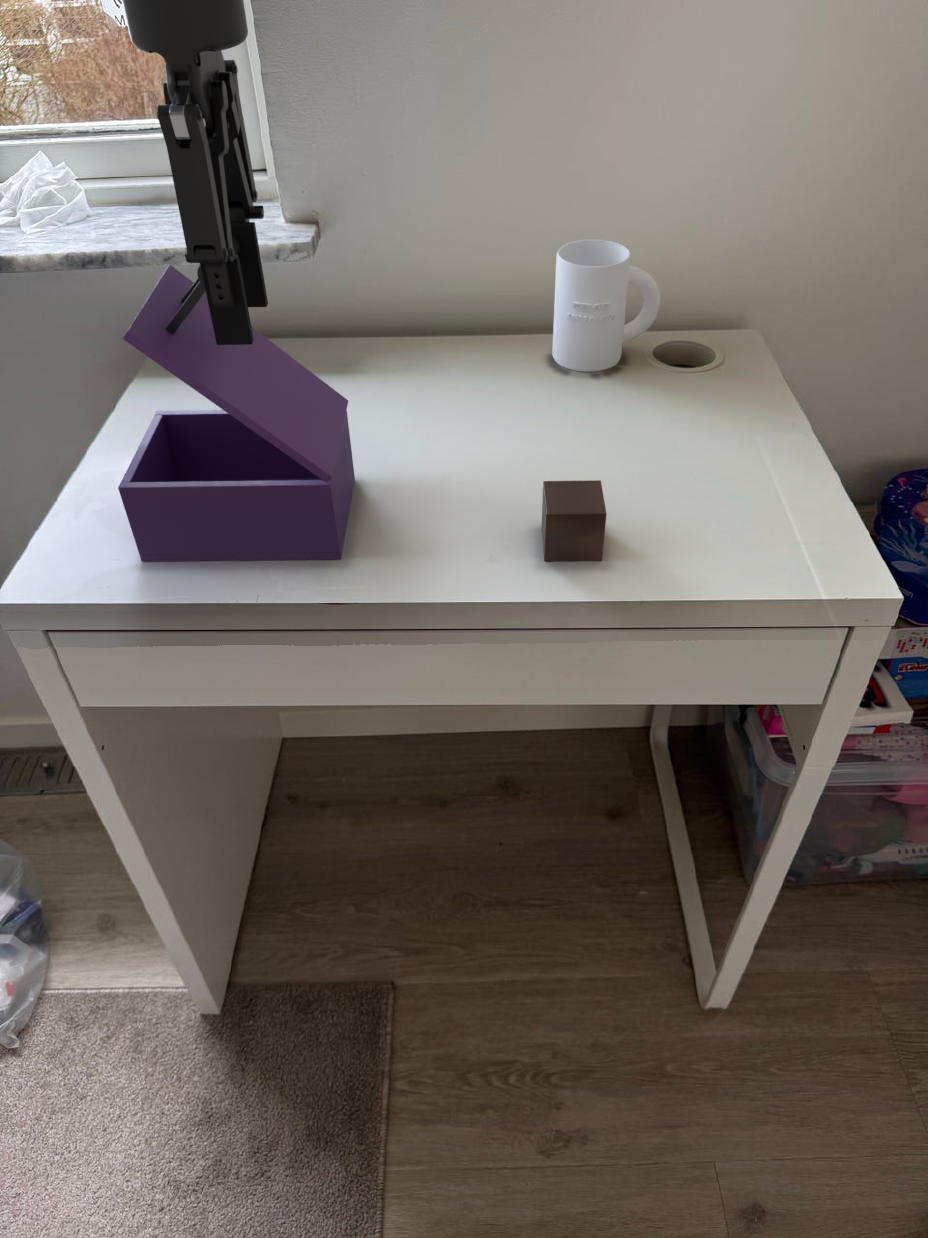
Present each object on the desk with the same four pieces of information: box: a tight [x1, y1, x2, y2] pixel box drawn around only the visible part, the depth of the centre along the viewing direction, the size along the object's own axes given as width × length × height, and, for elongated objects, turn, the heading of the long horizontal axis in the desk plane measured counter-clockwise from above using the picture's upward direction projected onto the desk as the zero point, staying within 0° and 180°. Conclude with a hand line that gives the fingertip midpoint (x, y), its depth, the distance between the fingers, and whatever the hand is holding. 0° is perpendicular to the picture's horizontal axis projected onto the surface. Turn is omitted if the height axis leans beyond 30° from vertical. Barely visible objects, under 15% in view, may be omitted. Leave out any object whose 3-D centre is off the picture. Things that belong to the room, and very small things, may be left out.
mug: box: [551, 239, 661, 373], centre depth 106 cm, size 8×12×12 cm
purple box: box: [117, 409, 356, 562], centre depth 85 cm, size 18×13×8 cm
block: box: [541, 479, 607, 562], centre depth 82 cm, size 5×5×5 cm
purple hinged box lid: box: [122, 234, 349, 483], centre depth 76 cm, size 19×13×8 cm
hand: (243, 322), depth 75 cm, fingers closed on purple hinged box lid, 6 cm apart
